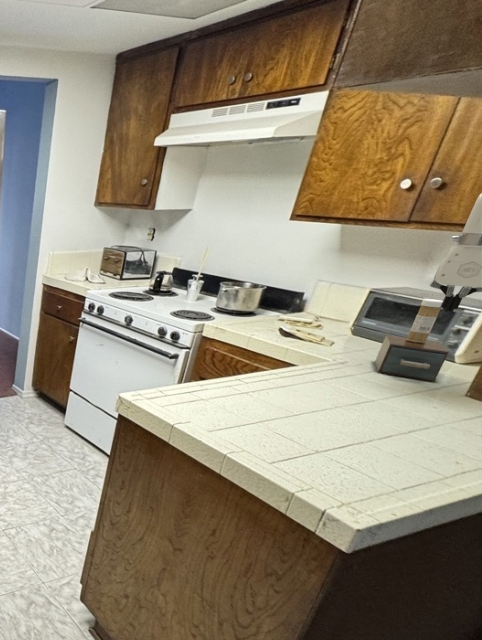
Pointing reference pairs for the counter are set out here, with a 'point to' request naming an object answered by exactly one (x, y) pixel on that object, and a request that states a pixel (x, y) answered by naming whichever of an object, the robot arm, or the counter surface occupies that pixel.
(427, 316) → the sprinkles bottle
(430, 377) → the drawer
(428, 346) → the cabinet
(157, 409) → the counter surface
